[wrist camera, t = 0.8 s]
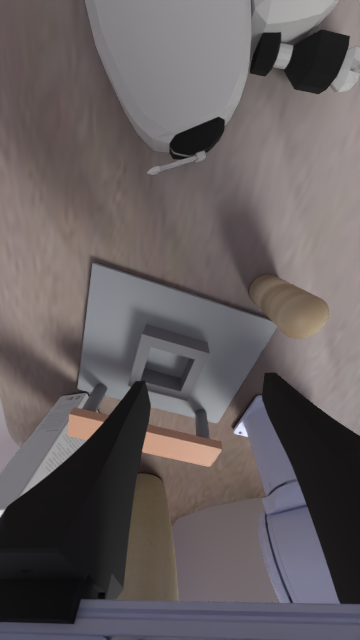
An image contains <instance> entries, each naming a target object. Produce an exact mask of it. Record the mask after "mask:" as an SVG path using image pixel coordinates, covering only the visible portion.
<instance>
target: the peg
mask: <svg viewBox="0 0 360 640" xmlns="http://www.w3.org/2000/svg"><path fill="white" fill-rule="evenodd" d="M249 296H250V298H251V300H252V301H253V302H254V303H255V304H256V305H257V306H258V307H259V308H260V309H261V310H262V311H263V312H264V313H265V314H266V315H267V316H268V317H269V318H270V319H271V320H272V322H273V323H274V324H275V325H276V326H277V327H278V328H279V329H280V330H281V331H282V332H283V333H284V334H285V335H287V336H288V337H291V338H295V339H301V338H306V337H309V336H312V335H314V334H315V333H317V332H318V331H319V330H320V329H321V328H322V327H323V326H324V325H325V323H326V322H327V320H328V316H329V308H328V305H327V304H326V302H325V301H324V300H322V299H321V298H319V297H317V296H315V295H313V294H311V293H309V292H307V291H305V290H302V289H300V288H298V287H296V286H294V285H292V284H290V283H288V282H286V281H284V280H282V279H280V278H278V277H276V276H274V275H271V274H264V275H261V276H259V277H257V278H256V279H255V280H254V281H253V282H252V284H251V285H250V288H249Z"/></svg>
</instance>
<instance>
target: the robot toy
mask: <svg viewBox="0 0 360 640" xmlns="http://www.w3.org/2000/svg"><path fill="white" fill-rule="evenodd" d="M338 2H339V0H85V4H86V8H87V12H88V16H89V21H90V25H91V29H92V33H93V37H94V42H95V46H96V48H97V51H98V53H99V56H100V58H101V61H102V64H103V66H104V69H105V71H106V74H107V76H108V78H109V80H110V82H111V84H112V86H113V89H114V91H115V93H116V95H117V97H118V99H119V101H120V103H121V106H122V108H123V110H124V112H125V114H126V116H127V117H128V119H129V121H130V122H131V124H132V126H133V128H134V129H135V131H136V132H137V134H138V135H139V136H140V138H141V139H142V140H143V141H144V142H145V143H146V144H147V145H148V146H150V147H151V148H152V149H153V150H154V151H159V152H168V153H170V154H171V156H172V158H173V159H181V160H179V161H176V162H173V163H169V164H166V165H163V166H160V167H159V166H156V167H153V168H151V169H150V170H149V171H148V172H147V173H148V174H151V175H154V174H157V173H159V172H160V171H164V170H167V169H170V168H173V167H177V166H180V165H183V164H186V163H189V162H193V161H195V163H197V162H200V161H203V160H204V159H205V158H206V154H205V153H207V152H208V151H209V150H210V149H212V148H213V147H214V145H215V144H216V143H217V142H218V141H219V140H220V138H221V136H222V134H223V132H224V126H225V125H226V124H227V123H228V122H229V120H230V119H231V117H232V115H233V113H234V111H235V109H236V107H237V106H238V104H239V102H240V99H241V95H242V92H243V89H244V86H245V83H246V79H247V75H248V68H249V61H251V67H250V73H251V74H256V75H261V76H266V75H267V74H268V73H269V71H270V70H271V69H272V68H273V67H275V68H280V69H284V71H285V73H286V75H287V77H288V79H289V81H290V82H291V84H292V86H293V87H294V89H296V90H301V91H306V92H311V93H316V94H320V93H321V92H323V91H325V90H326V89H327V88H328V87H329V86H331V87H332V89H333V90H334V92H342V91H349V90H350V88H351V87H352V86H353V85H354V84H355V83H356V82H357V80H358V78H359V75H360V74H358V73H356V72H357V71H358V70H359V69H360V48H359V47H357V46H355V47H352V48H350V49H348V46H349V39H350V36H347V35H342V34H338V33H334V32H330V31H326V30H320V31H318V32H316V33H314V31H315V30H316V28H317V27H318V26H319V24H320V23H321V21H322V20H323V19H324V18H325V17H326V16H327V15H328V14H329V13H330V12H331V11H332V10H333V9H334V7H335V6H336V4H337V3H338ZM313 33H314V34H313Z"/></svg>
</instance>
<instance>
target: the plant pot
mask: <svg viewBox="0 0 360 640" xmlns="http://www.w3.org/2000/svg"><path fill="white" fill-rule="evenodd" d="M116 600H148V601H179V599H178V584H177V571H176V560H175V551H174V543H173V534H172V527H171V520H170V514H169V508H168V502H167V497H166V492H165V487H164V483H163V481H162V480H161V479H159V478H158V477H156V476H154V475H151V474H145V473H139V474H137V479H136V485H135V492H134V499H133V507H132V514H131V523H130V531H129V539H128V548H127V558H126V568H125V577H124V588H123V590H122V592H121V593H120V595H119V596H118V598H117V599H116Z"/></svg>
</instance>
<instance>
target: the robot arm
mask: <svg viewBox="0 0 360 640" xmlns="http://www.w3.org/2000/svg"><path fill="white" fill-rule="evenodd" d="M150 408H151V403H150V399H149V394H148V390H147V386H146V382H145V381H135V382H134V384H133V385H132V386H131V388H130V389H129V391H128V392H127V393H126V395H125V396H124V397H123V399H122V400H121V401H120V403H119V404H118V405H117V407H116V408H115V409H114V410H113V412H112V413H111V414H110V415H109V416H108V418H107V419H106V420H105V421H104V422H103V424H102V425H101V426H100V427H99V428H98V429H97V430H96V431H95V432H94V433H93V435H92V436H91V437H90V438H89V439H88V440H87V441H86V442H85V443H84V444H83V445H82V446H81V447H80V448H78V449H77V450H76V451H75V452H74V453H73V454H72V455H71V456H70V457H69V458H68V459H67V460H65V461H64V462H63V463H62V464H61V465H60V466H58V467H57V468H56V469H55V470H54V471H53V472H51V473H50V474H49V475H48V476H46V477H45V478H44V479H43V480H41V481H40V482H39V483H38V484H36V485H35V486H34V487H32V488H31V489H30V490H28V491H27V492H26V493H24V494H23V495H22V496H20V497H19V498H18V499H16V500H15V501H14V502H12V503H11V504H9V505H8V506H7V508H6V509H5V511H4V512H3V514H2V515H1V517H0V640H360V436H359V435H357V434H356V433H354V432H353V431H351V430H349V429H348V428H346V427H345V426H343V425H342V424H340V423H339V422H337V421H336V420H334V419H333V418H332V417H330V416H329V415H327V414H326V413H325V412H323V411H322V410H321V409H319V408H318V407H317V406H315V405H314V404H313V403H311V402H310V401H309V400H308V399H306V398H305V397H304V396H303V395H301V394H300V393H299V392H298V391H296V390H295V389H294V388H293V387H292V386H291V385H289V384H288V383H287V382H286V381H285V380H284V379H282V378H281V377H280V376H279V375H278V374H276V373H265V376H264V385H263V393H262V395H258V396H256V397H255V399H254V400H253V402H252V403H251V405H250V406H249V408H248V409H247V410H246V412H245V413H244V415H243V416H242V418H241V419H240V421H239V422H238V423H237V425H236V426H235V428H234V429H233V431H234V433H235V434H238V435H242V436H246V437H248V438H249V442H250V445H251V448H252V451H253V455H254V458H255V461H256V464H257V468H258V471H259V474H260V477H261V481H262V484H263V487H264V490H265V494H266V497H265V498H263V499H262V501H263V505H264V508H265V511H263V512H262V513H261V514H260V520H259V526H258V531H259V540H260V545H261V549H262V553H263V558H264V561H265V564H266V568H267V571H268V574H269V577H270V580H271V582H272V585H273V588H274V590H275V592H276V594H277V597H278V599H279V600H280V603H261V602H259V603H258V602H203V601H201V602H200V601H148V600H116V599H117V598H118V596H119V595H120V593H121V592H122V590H123V588H124V577H125V568H126V558H127V548H128V539H129V531H130V523H131V514H132V507H133V499H134V492H135V485H136V479H137V472H138V467H139V462H140V457H141V453H142V449H143V445H144V440H145V436H146V432H147V427H148V423H149V416H150Z"/></svg>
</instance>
